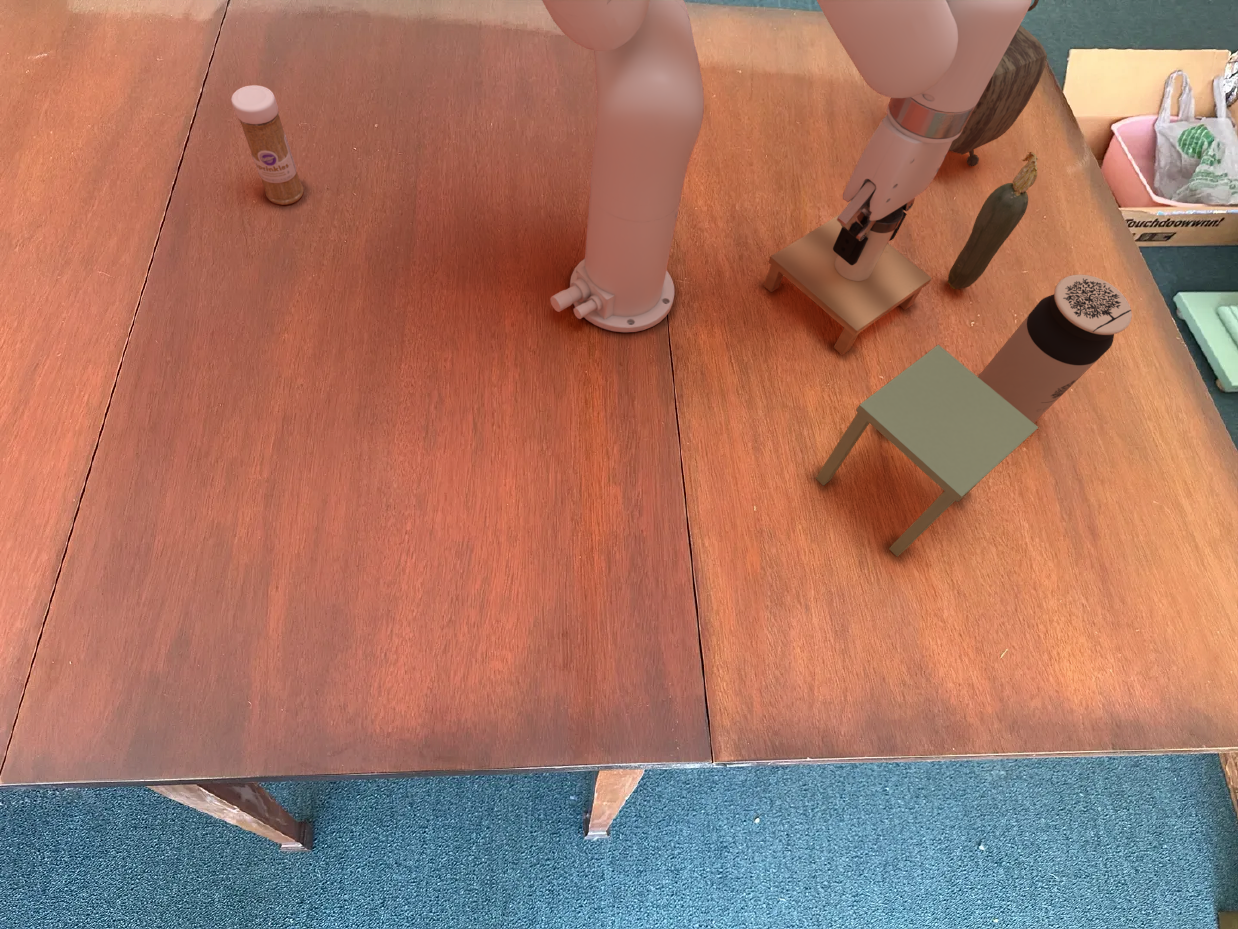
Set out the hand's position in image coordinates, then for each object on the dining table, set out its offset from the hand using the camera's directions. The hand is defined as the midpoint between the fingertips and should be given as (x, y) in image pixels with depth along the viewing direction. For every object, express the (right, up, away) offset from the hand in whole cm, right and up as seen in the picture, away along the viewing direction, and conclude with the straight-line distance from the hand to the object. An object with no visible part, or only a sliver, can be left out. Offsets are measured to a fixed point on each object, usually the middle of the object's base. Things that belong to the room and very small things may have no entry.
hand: (863, 243), depth 90 cm
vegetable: (+14, -3, +10) cm, 18 cm away
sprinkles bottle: (-70, +8, +8) cm, 71 cm away
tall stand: (+1, -28, -6) cm, 29 cm away
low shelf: (-1, -4, +7) cm, 9 cm away
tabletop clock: (+17, +20, +24) cm, 36 cm away
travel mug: (+16, -19, +1) cm, 25 cm away
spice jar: (0, -2, +3) cm, 4 cm away
